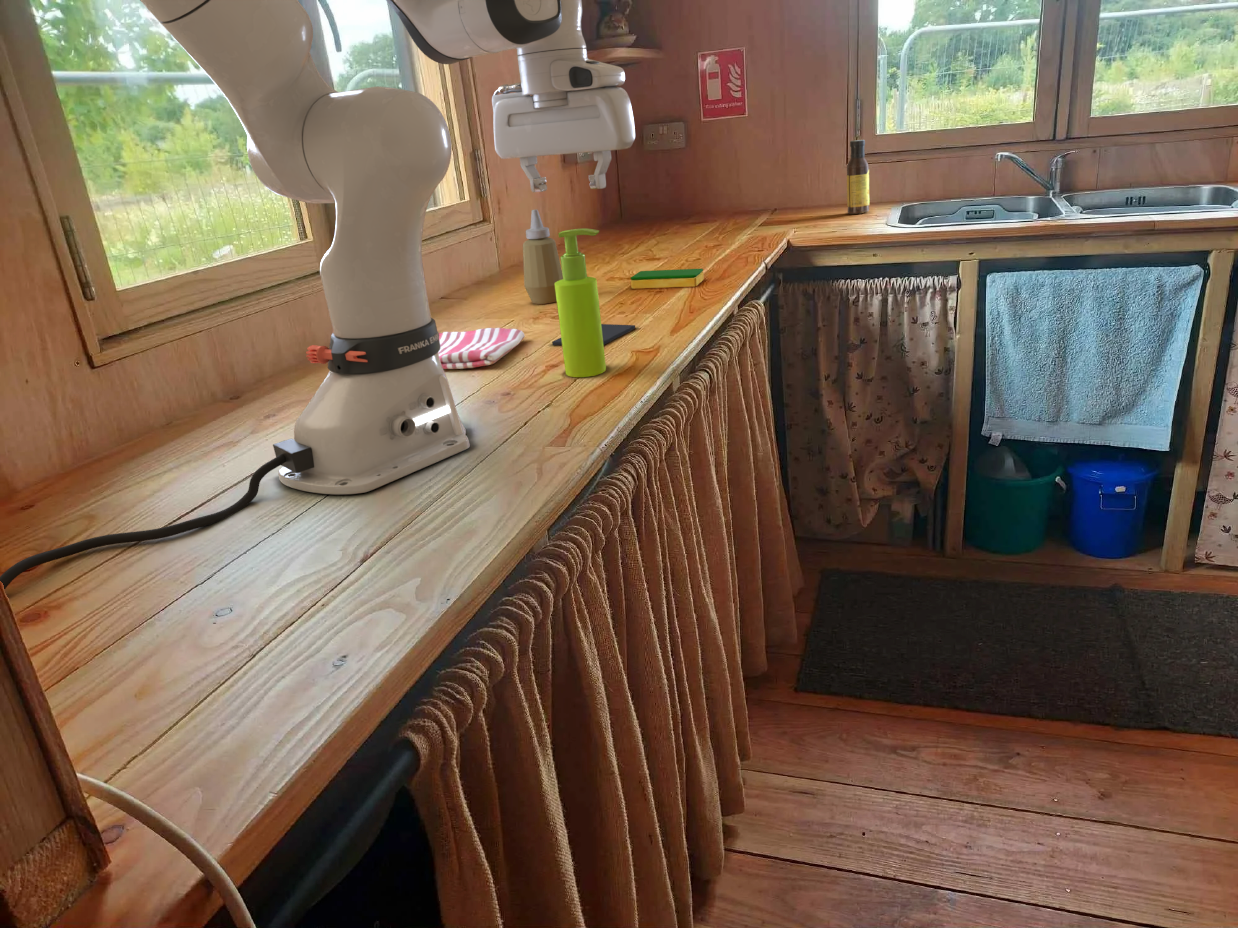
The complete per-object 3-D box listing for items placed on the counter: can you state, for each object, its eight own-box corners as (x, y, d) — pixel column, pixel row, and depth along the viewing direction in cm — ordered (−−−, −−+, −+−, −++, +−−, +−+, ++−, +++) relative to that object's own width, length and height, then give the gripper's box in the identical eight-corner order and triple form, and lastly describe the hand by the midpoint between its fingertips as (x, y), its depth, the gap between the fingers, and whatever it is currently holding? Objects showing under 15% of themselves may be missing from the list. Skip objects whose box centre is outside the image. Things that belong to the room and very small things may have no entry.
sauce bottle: (873, 212, 251) (874, 138, 244) (856, 215, 249) (856, 141, 241) (859, 211, 257) (860, 139, 249) (842, 213, 254) (842, 141, 247)
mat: (599, 347, 138) (598, 343, 138) (552, 345, 143) (551, 341, 142) (635, 328, 148) (635, 325, 147) (590, 327, 152) (590, 323, 152)
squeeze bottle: (574, 297, 178) (563, 206, 171) (550, 306, 172) (538, 212, 165) (542, 296, 182) (531, 207, 175) (518, 305, 176) (505, 213, 169)
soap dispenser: (608, 376, 123) (592, 231, 115) (561, 378, 124) (542, 235, 117) (616, 364, 128) (602, 225, 120) (571, 366, 130) (554, 228, 122)
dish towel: (398, 347, 152) (395, 327, 151) (527, 340, 147) (524, 320, 146) (355, 376, 136) (350, 354, 135) (497, 369, 132) (494, 347, 131)
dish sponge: (640, 282, 186) (639, 270, 185) (704, 279, 182) (703, 268, 181) (630, 289, 180) (629, 277, 179) (696, 287, 175) (695, 275, 175)
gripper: (475, 87, 114) (492, 196, 119) (610, 69, 104) (621, 190, 109) (504, 85, 119) (519, 190, 124) (635, 68, 109) (645, 183, 114)
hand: (568, 190), depth 117 cm, fingers open, 8 cm apart
